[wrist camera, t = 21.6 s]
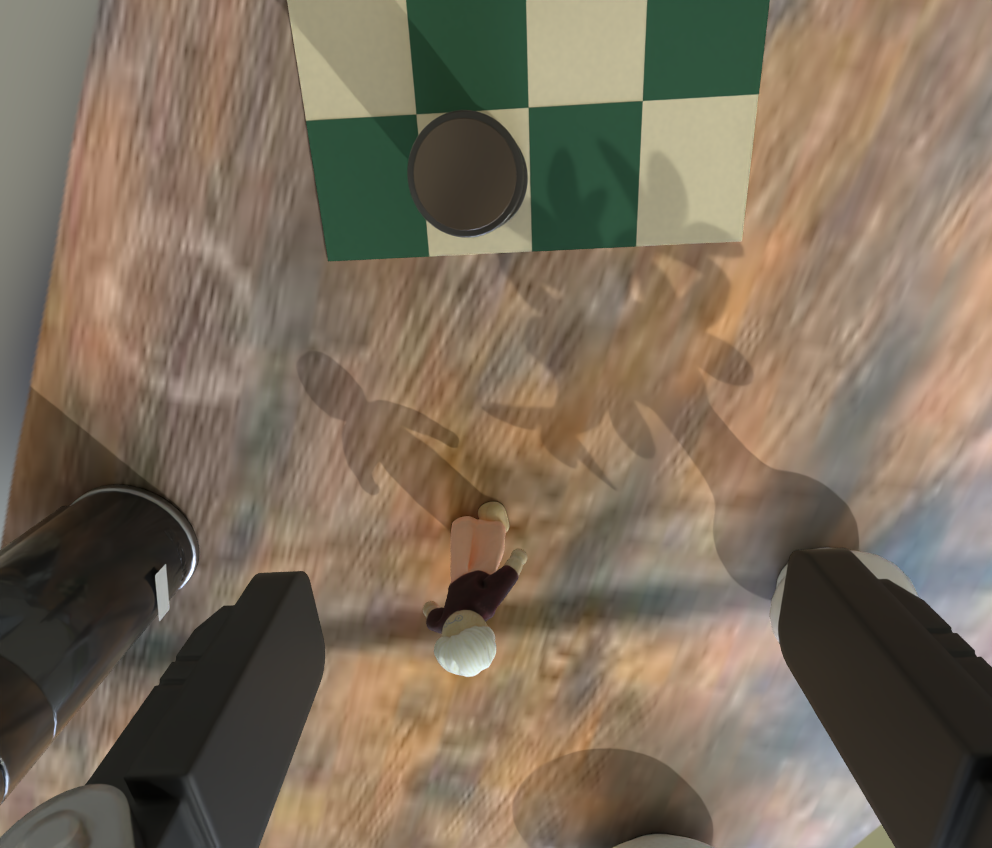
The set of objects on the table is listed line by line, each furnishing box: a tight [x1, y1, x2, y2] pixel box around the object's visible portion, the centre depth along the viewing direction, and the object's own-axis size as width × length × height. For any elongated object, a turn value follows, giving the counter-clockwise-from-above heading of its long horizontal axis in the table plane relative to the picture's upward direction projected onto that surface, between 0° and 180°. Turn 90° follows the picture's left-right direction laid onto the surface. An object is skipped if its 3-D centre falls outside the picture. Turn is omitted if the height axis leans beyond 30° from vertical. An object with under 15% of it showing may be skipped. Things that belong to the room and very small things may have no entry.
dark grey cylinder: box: [407, 110, 528, 238], centre depth 26 cm, size 5×5×10 cm
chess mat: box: [287, 0, 770, 261], centre depth 28 cm, size 24×22×1 cm
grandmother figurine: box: [423, 502, 527, 677], centre depth 34 cm, size 8×4×13 cm, turn 137°
